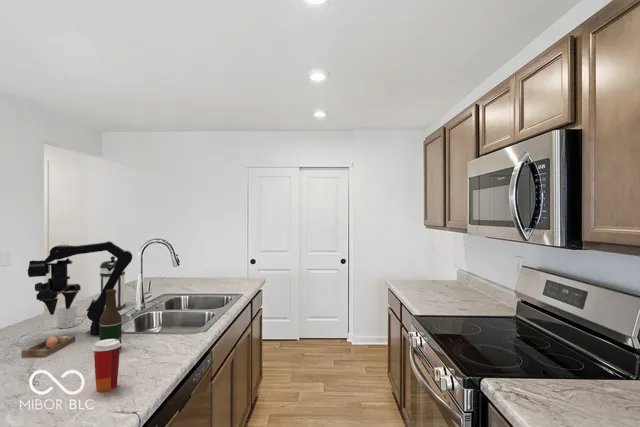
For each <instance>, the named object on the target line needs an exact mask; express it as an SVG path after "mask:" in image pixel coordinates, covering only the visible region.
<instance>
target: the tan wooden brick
mask: <svg viewBox="0 0 640 427" xmlns="http://www.w3.org/2000/svg"><path fill="white" fill-rule="evenodd" d="M51 337H55V338H57V339H58V344H60V343H62V342H64V341H66V340H68V339H70V337H69V335H52V336H50V337H49V338H51Z"/></svg>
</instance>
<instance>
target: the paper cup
mask: <svg viewBox="0 0 640 427" xmlns="http://www.w3.org/2000/svg"><path fill="white" fill-rule="evenodd" d="M120 346H121V347H122V342H121V343H120V341H119V340H117V339H106V340H102V341H96V342H95V343H94V345H93V347H92V349H91V350H92V351H93V357H94V359H93V360H94V362H93V363H94V373H95V374H94V377H95V390H96V391H97V392H98V393H99V392H100V393H105V392H109V391H110V392H111V391H112V390H114V389H116V388H117V386H118V378H119V366H120Z"/></svg>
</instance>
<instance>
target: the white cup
mask: <svg viewBox="0 0 640 427" xmlns="http://www.w3.org/2000/svg"><path fill="white" fill-rule="evenodd" d="M76 314H77V304H76V303H72V304H71V306H70V308H69V309H66V305H65V304H60V305H56V322H57V328H58V329H60V328H64V329H69V327H70V328H73V327H75V326H76V317H77V315H76Z"/></svg>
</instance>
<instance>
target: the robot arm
mask: <svg viewBox="0 0 640 427" xmlns="http://www.w3.org/2000/svg"><path fill="white" fill-rule="evenodd" d="M97 252H99V253H100V252H108V253H109V254H110V255H112V256H114V257H115V259H116V260H117V262H116V265H115V268H114V270H113V272H112V274H111V276H110V278H109V279H108V281H107V283H106V285H105V287H104V289H103V290H102V292H101V294H100V293H99V294H100V295H99V296H98V297H97V298H96V300H95V299H94V298H93V299H92V300H91V302H90V305H89V306H88V307H87V309H86V313H87V314H86V317H87V318H88V319H89V321H92V322H91V325H90V327H89V328H90V332H89V334H90V335H91V336H94V337H95V336H96V337H100V318H101V315H102V314H103V312H104V311H105V309H104V308H105V305H106V294H107V293H106V290H108V289H113V288H114V286H115V284H116V283H117V281H118V279H119V277H120V275H121V273H122V272H123V271H124V269H125V270H126V268H127V267H128V266H129V265H130V263H131V262H132V260H133V253H132V252H131V251H130V250H128V249H127V250H124V249H123V248H121V247H120V246H118V245H116V244H114V243H113V241H104V242H97V243H90V244H80V245H69V244H68V245H67V244H59V245H55V246H54V247H53V246H52V248H51V249H50V251H49V255H48V256H47V257H46V258H45V260H43V259H42V260H34V259H33V260H30V261H29V264H28V269H27V276H28V277H29V278H37V277H47V274H50V277H49V278H48V279H47V282H45V283H43V282H36V283H35V284H34V291H36V292H38V293H36V296H35V297H36V300H37V301H39V302H43V304H45V305H46V308H47V310H48V313H49V315H51V316H53V315H54V314H55V311H56V309H57V304H58V300H59V298H58V295H60V294H61V295H63V297H64V303H65V305H66V309H69V308H70V306H71V304H73V302H74V301H75V298H76V296H77V294H78V293H79V291H81V290H82V289H81V285H80V284H79V283H69V282H68V281H69V280H70V279H71V276H68V265H72V264H73V263H74V262H73V260H71V259H70V257H72V256H76V255H83V254H90V253H97ZM63 259H64V260H63ZM56 260H57V261H56ZM53 261H56V262H53Z"/></svg>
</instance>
